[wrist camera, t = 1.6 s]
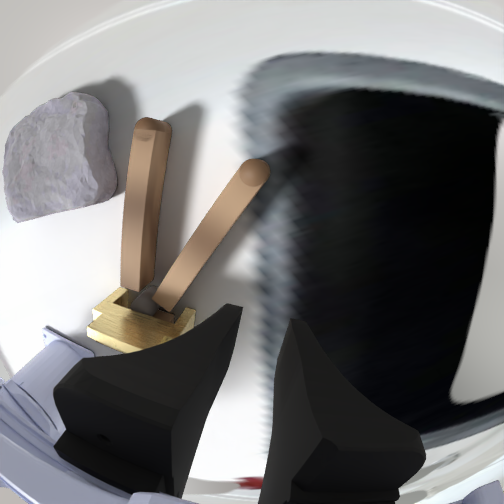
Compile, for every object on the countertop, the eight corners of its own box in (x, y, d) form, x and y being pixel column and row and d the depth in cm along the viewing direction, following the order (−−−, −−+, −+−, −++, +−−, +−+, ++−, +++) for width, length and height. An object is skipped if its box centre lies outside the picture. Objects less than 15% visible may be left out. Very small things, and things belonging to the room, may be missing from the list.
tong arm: (180, 298, 22) (169, 312, 19) (164, 285, 21) (151, 298, 19) (275, 169, 18) (273, 169, 16) (255, 154, 18) (250, 153, 15)
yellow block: (192, 340, 22) (165, 389, 17) (120, 316, 23) (82, 355, 17) (195, 310, 22) (166, 357, 16) (120, 287, 22) (76, 322, 16)
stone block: (35, 131, 21) (34, 226, 22) (3, 122, 16) (-2, 228, 17) (125, 91, 20) (126, 205, 21) (94, 69, 15) (89, 202, 16)
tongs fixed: (171, 350, 24) (161, 367, 21) (136, 337, 24) (123, 353, 21) (200, 125, 18) (188, 120, 15) (153, 120, 18) (136, 116, 16)
